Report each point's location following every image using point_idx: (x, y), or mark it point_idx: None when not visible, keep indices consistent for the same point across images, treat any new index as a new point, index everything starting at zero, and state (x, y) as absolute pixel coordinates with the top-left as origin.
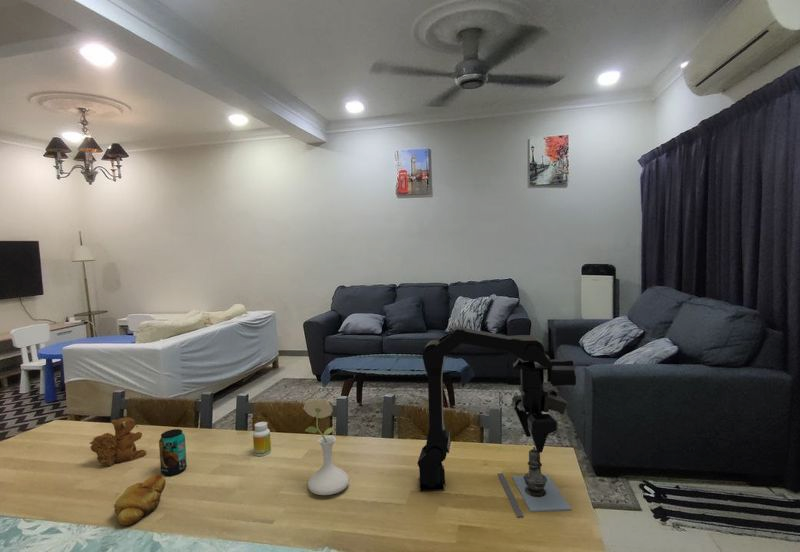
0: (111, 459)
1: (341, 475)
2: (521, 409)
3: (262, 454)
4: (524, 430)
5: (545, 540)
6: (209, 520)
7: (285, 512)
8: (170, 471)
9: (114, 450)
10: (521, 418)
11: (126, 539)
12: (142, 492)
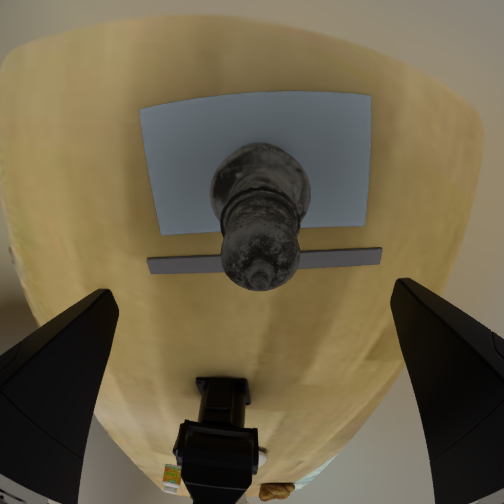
0: None
1: None
2: (34, 499)
3: (180, 468)
4: (105, 361)
5: (457, 222)
6: (292, 473)
7: (288, 459)
8: None
9: None
10: (71, 450)
11: (306, 480)
12: (281, 497)
